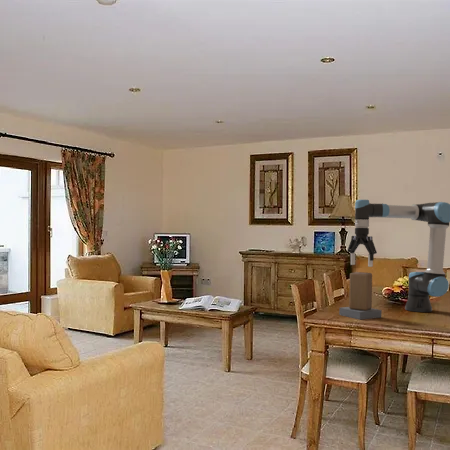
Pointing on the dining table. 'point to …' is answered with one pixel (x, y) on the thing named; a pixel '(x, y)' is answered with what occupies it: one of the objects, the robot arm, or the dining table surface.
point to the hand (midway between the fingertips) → (361, 265)
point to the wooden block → (360, 291)
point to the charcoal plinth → (360, 313)
